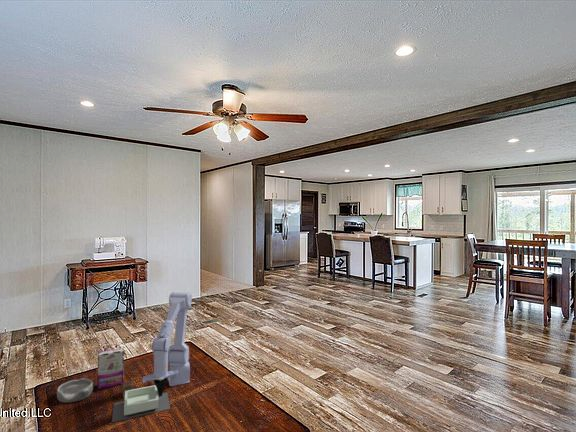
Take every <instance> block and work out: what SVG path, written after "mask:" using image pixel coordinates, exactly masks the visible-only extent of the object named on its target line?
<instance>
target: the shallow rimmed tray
mask: <svg viewBox="0 0 576 432" xmlns="http://www.w3.org/2000/svg"><path fill="white" fill-rule="evenodd" d="M158 394H159V393H158V390H157V387H156V385H155V384H154V385H150V386H142V387H139V388H138V387H137V388H134V389H132V390H127V391H125V398H124V415H127V416H131V414H133V413H138V412H142V411H147V410H152V411H154V410H155V409H156V408H158V401H159V399H158Z"/></svg>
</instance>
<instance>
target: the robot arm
mask: <svg viewBox="0 0 576 432" xmlns="http://www.w3.org/2000/svg"><path fill="white" fill-rule="evenodd" d="M192 300H193V297H192V293H190V292H174V291H173V292H171V293H170V294H169V296H168V304H169V307H168V308H169V309H168V313H167V316H166V319H165V321H163V322H162V323H161V326H160V328H159V331H158V334H157V336H156V337H155V338H153V339H152V343H151V350H152V355H153V373H151V374H148V375H145V376H142V384H144V383H147V382H154V385H156V387H157V391H158V394H159V397H160V396H162V393H164V389H165V386H166V385H167V383H168V385H169V387H174V386H179V385H184V384H188V383H191V381H190V380H191V368H190V367H191V365H190V361H189V359H190V346H188V345H187V344H186V343H185V339H186V338H185V337H186V327H187V321H188V319H187V317H188V312H189V311H188V310H190V309H191V308H192ZM175 321H176V323H175V324H174V322H175ZM174 330H175V332H174ZM173 332H174V340H173V343H172V344H171V342H172V335H173ZM168 368H169V369H168Z"/></svg>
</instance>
